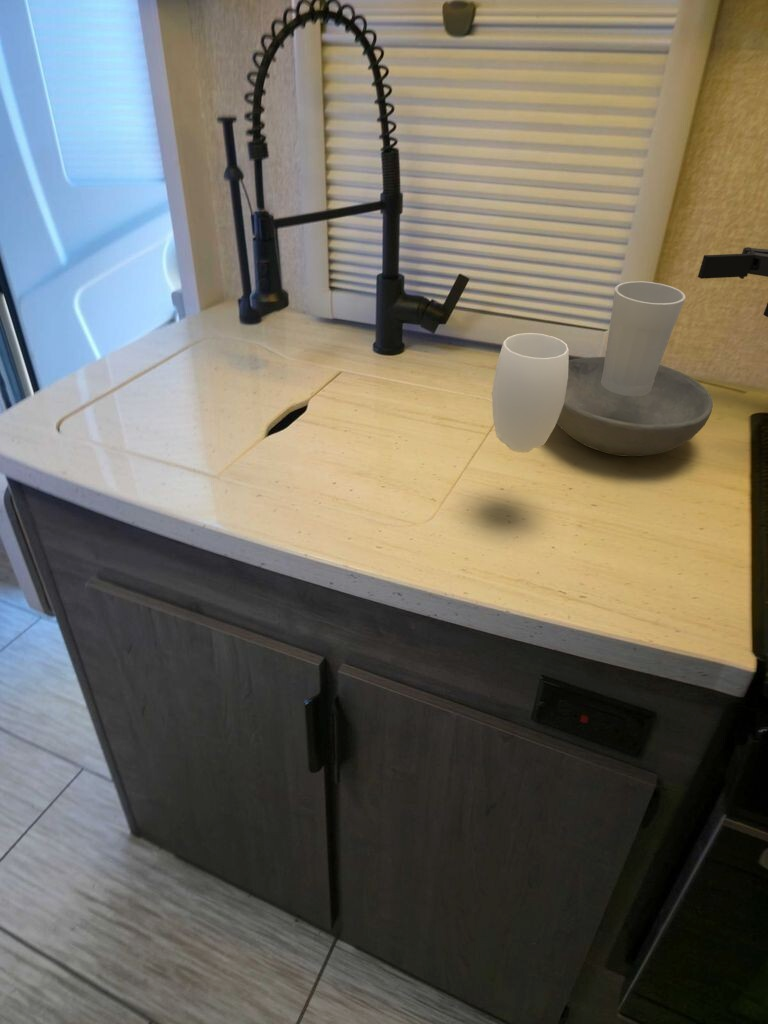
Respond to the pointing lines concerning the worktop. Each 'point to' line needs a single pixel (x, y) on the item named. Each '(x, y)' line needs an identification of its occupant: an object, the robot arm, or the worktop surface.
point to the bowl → (632, 411)
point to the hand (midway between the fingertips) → (733, 284)
